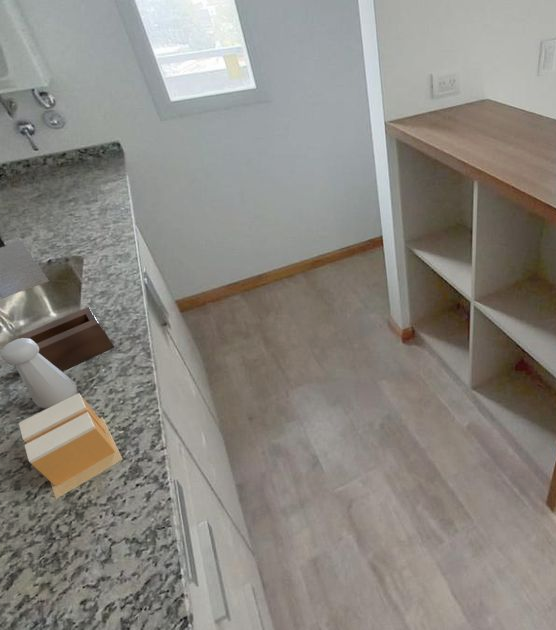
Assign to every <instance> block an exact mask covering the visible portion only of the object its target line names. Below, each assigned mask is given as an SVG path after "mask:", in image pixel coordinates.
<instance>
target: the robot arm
mask: <svg viewBox="0 0 556 630" xmlns="http://www.w3.org/2000/svg"><path fill="white" fill-rule="evenodd" d="M0 237H1V238H2V239H1V238H0V246H3V245H4V243H5V241H4V240H3V237H2V236H1V234H0ZM3 241H4V242H3Z"/></svg>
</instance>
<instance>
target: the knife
mask: <svg viewBox="0 0 556 630" xmlns="http://www.w3.org/2000/svg"><path fill="white" fill-rule="evenodd" d="M1 237H2V236H1ZM1 237H0V238H1ZM1 239H2V240H3V237H2V238H1ZM3 242H4V245H3V246H0V300H1V299H5V298H7V297H10V296H13V295H15V294H18V293H20V292H24V291H26V290H29V289H32V288H35V287H37V286H40V285H43V284H46V283H49V282H50V280H49V279H48V277H47V276H46V274H45V273H44V271H43V270H42V268H41V267H40V266H39V264H38V263H37V261H36V260H35V258H34V257H33V256H32V254H31V253H30V251H29V249H28V248H27V247H26V245H25V243H23V241H22V240H21V238H19V239H15V240H12V241H9V242H6V243H5V241H4V240H3Z"/></svg>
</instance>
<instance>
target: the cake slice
mask: <svg viewBox="0 0 556 630" xmlns="http://www.w3.org/2000/svg"><path fill="white" fill-rule="evenodd" d="M23 446H24V449H25V452H26V456H27V460H28V462H29V463H30V464H31V465H32V466H33V467H34V468H35V469H36V470H37V471H38V472H39V473H41V475H42V476H44V477H45V478H46V479H47V480H48V481H49V483H50V484H51V483H53V484H54V485H55V486H57V485H59V484H60V483H62V482H64V481H66V480H67V479H69V478H71V477H72V476H74V475H76V474H78V473H79V472H81V471H83V470H85V469H86V468H88V467H90V466H91V465H93V464H95V463H97V462H98V461H100V460H102V459H103V458H105V457H107V456H109V455H110V454H112V453H114V452H115V450H114V448H113V446H112V444H111V442H110V439H109V437H108V436H107V435H106V434H105V433H104V431H103V430H102V429H101V428H100V426H99V425H98V424H97V423H96V422H95V420H94V419H93V418H92V417H91V416H90V415H89V413H88V412H86V413H85V414H83V415H81V416H79V417H77V418H75V419H73V420H71V421H69V422H67V423H65V424H64V425H62V426H60V427H58V428H56V429H54V430H52V431H50V432H48V433H46V434H44V435H42V436H41V437H39V438H37V439H35V440H33V441H31V442H29V443H25V444H24V445H23Z"/></svg>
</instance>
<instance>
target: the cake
mask: <svg viewBox="0 0 556 630" xmlns="http://www.w3.org/2000/svg"><path fill="white" fill-rule="evenodd" d="M86 412H88V413H89V415H90V416H91V417H92V418H93V419H94V420H95V422H96V423H97V424H98V425H99V426H100V428H101V429H102V430H103V431H104V433H105V434H106V435H107V436H108V437H109V439H110V442H111V444H112V446H113V448H114V450H115V452H114V453H112V454H110V455H109V456H107V457H105V458H103V459H102V460H100V461H98V462H97V463H95V464H93V465H91V466H90V467H88V468H86V469H85V470H83V471H81V472H79V473H78V474H76V475H74V476H72V477H71V478H69V479H67V480H66V481H64V482H62V483H60V484H59V485H57V486H55V485H54V484H53V483H51V482H50V485H51V489H52V492H53V495H54V498H55V500H58V499H59V498H61V497H62V496H64V495H66V494H67V493H69V492H71V491H72V490H74V489H76V488H77V487H79V486H81V485H82V484H84V483H86V482H87V481H89V480H91V479H92V478H95V477H96V476H98V475H99V474H101V473H103V472H105V471H106V470H108V469H109V468H111V467H112V466H114V465H116V464H118V463H119V462H121V461H123V456H122V455H121V453H120V451H119V449H118V446H117V444H116V442H115V440H114V438H113V436H112V433H111V432H110V431H111V430H110V429H109V428H108V425H107V424H106V421H105V418H104V416H101V417H99V415H98V414H97V413H96V411H94V409H93V408H92V407H91V406H90V404H89V403H88V402H87V401H86V399H85V398H84V396H82V395H81V394H80V392H77V394H76V395H74V396H72V397H70V398H68V399H66V400H64V401H62V402H60V403H58V404H56V405H54V406H52V407H50V408H48V409H43V410H41V411H40V412H37V413H35V414H33V415H32V416H29V417H27V418H25V419H24V420H22V421H20V422H18V427H19V430H20V434H21V438H22V441H23V442H25V444H27V443H29V442H31V441H33V440H35V439H37V438H39V437H41V436H42V435H44V434H46V433H48V432H50V431H52V430H54V429H56V428H58V427H60V426H62V425H64V424H65V423H67V422H69V421H71V420H73V419H75V418H77V417H79V416H81V415H83V414H85V413H86Z"/></svg>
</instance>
